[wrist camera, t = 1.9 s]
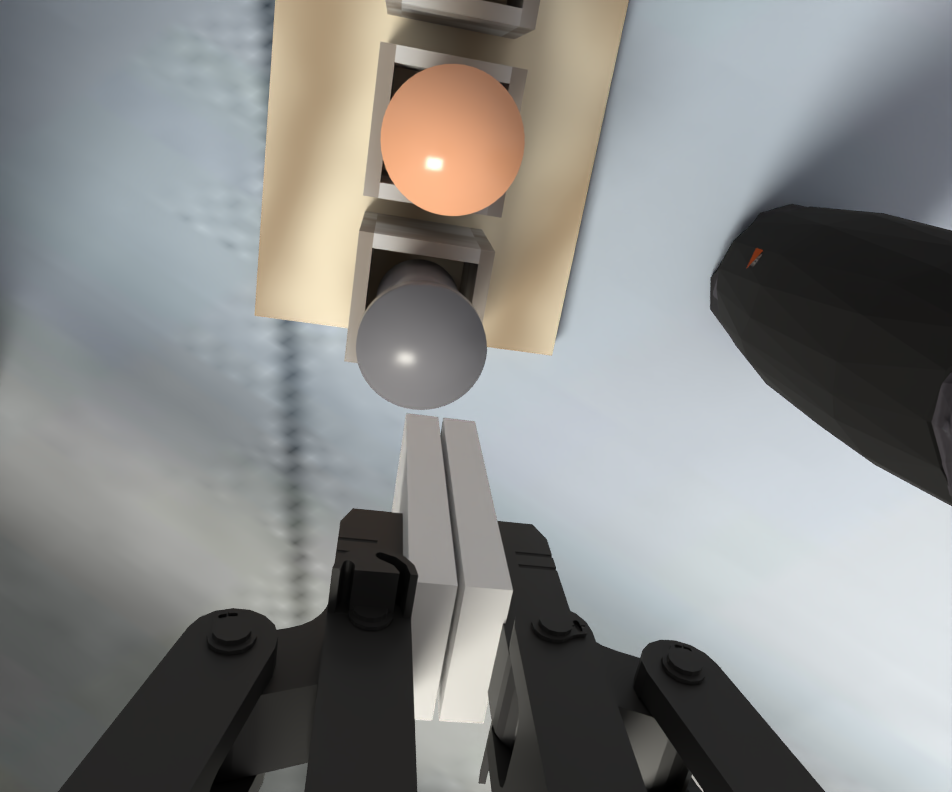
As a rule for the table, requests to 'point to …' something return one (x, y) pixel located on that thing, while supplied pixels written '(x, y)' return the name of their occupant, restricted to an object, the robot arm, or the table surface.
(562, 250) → the board
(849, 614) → the table surface
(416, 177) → the plunger terracotta
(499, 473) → the table surface
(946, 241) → the portable speaker
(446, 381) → the plunger charcoal
